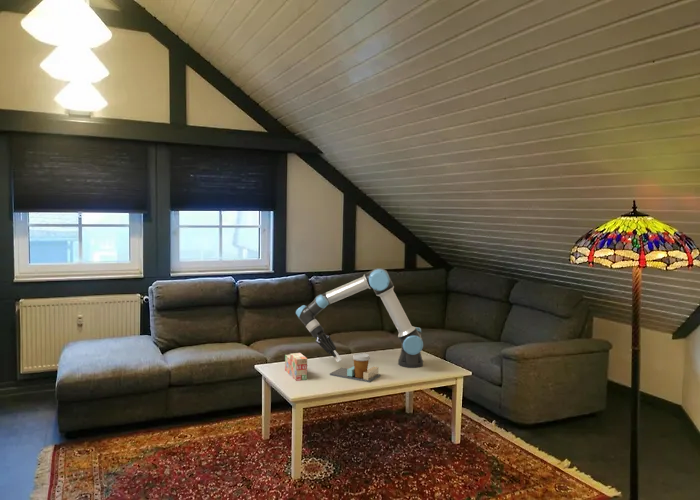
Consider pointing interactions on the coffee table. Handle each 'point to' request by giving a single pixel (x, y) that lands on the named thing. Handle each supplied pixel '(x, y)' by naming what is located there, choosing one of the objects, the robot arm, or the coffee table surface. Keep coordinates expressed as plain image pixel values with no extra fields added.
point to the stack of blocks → (296, 366)
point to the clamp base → (367, 377)
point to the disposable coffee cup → (360, 364)
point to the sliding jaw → (351, 371)
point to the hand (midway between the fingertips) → (339, 360)
